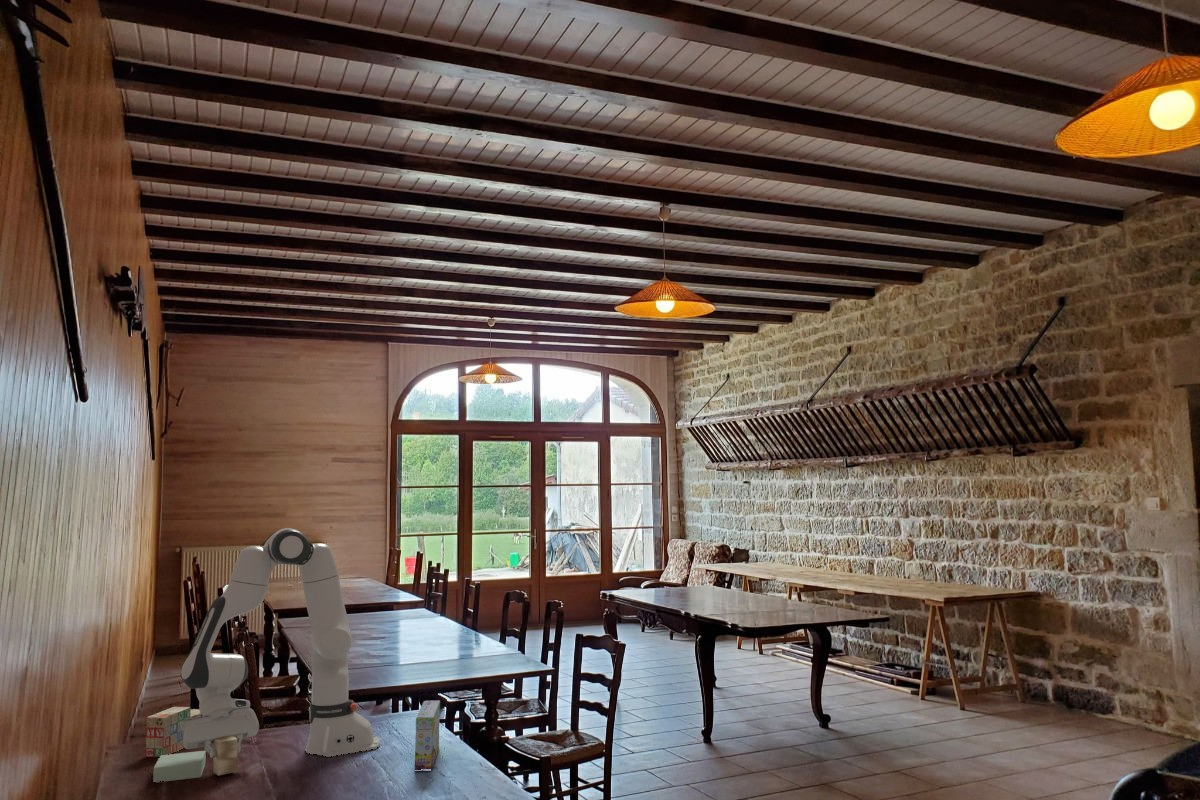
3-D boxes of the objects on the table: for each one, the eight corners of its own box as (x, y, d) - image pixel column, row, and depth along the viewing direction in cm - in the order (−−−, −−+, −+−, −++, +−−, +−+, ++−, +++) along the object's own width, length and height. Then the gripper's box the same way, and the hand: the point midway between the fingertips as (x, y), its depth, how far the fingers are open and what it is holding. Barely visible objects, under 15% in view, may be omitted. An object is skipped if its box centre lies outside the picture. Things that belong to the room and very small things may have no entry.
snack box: (433, 771, 237) (434, 717, 239) (413, 772, 237) (414, 717, 238) (440, 749, 258) (440, 699, 260) (422, 750, 258) (422, 699, 259)
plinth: (205, 764, 247) (205, 750, 248) (200, 777, 236) (201, 762, 236) (160, 769, 243) (160, 755, 244) (153, 782, 232) (153, 767, 233)
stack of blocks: (191, 737, 276) (192, 699, 277) (208, 738, 275) (209, 699, 276) (144, 758, 255) (146, 716, 256) (162, 758, 254) (164, 717, 255)
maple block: (231, 767, 242) (232, 735, 243) (236, 771, 238) (237, 738, 239) (213, 771, 239) (213, 738, 240) (218, 775, 235) (218, 742, 236)
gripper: (180, 712, 239) (188, 755, 230) (254, 699, 252) (264, 740, 243) (176, 725, 242) (184, 768, 233) (250, 712, 255) (259, 752, 246)
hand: (226, 754), depth 238 cm, fingers closed on maple block, 5 cm apart
